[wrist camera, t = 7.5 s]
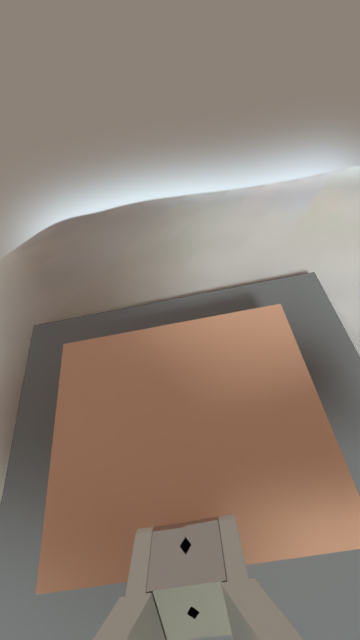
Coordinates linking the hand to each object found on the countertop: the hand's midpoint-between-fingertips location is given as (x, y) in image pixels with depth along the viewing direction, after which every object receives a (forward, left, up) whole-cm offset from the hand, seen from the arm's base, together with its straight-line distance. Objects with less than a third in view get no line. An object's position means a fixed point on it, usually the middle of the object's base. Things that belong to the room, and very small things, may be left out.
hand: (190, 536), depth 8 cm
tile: (0, -1, -3) cm, 4 cm away
